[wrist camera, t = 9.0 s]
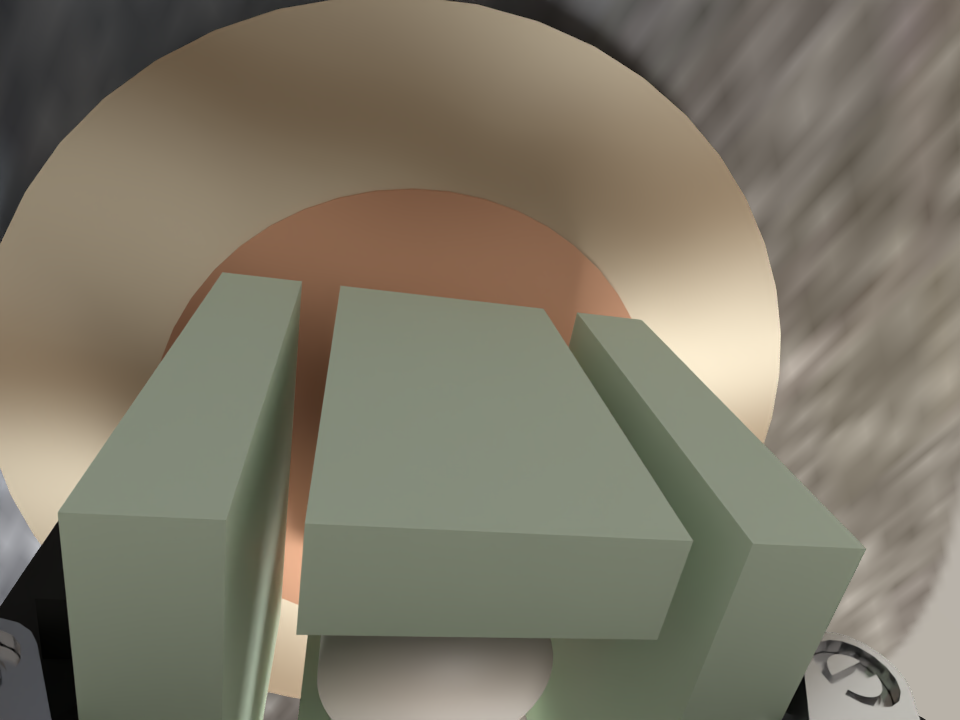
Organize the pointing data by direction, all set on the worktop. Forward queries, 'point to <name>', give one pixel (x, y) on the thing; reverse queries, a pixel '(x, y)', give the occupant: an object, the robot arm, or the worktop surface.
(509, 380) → the collar
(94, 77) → the worktop surface
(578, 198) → the post base
